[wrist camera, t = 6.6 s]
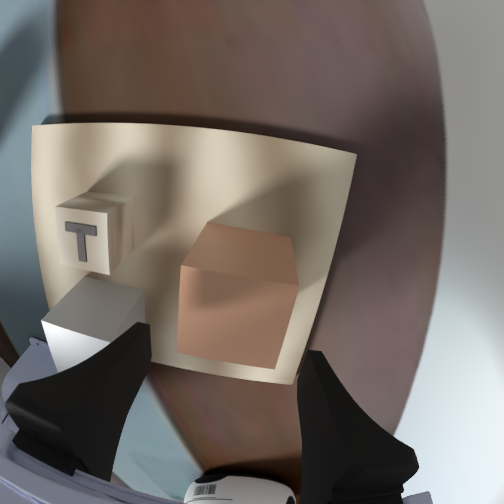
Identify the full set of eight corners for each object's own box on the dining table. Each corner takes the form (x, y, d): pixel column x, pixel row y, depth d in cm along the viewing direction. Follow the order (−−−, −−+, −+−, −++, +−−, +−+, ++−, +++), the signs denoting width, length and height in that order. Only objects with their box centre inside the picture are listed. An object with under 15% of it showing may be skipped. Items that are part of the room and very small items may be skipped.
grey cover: (92, 329, 24) (59, 376, 19) (84, 276, 22) (41, 320, 16) (147, 343, 25) (121, 397, 19) (144, 289, 22) (109, 342, 16)
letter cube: (88, 241, 21) (60, 264, 17) (87, 191, 19) (54, 206, 16) (133, 249, 21) (109, 275, 17) (134, 196, 19) (106, 213, 16)
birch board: (59, 327, 26) (55, 332, 25) (40, 124, 18) (32, 125, 17) (291, 377, 26) (292, 384, 26) (352, 153, 19) (356, 154, 18)
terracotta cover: (199, 294, 22) (177, 352, 16) (206, 222, 20) (180, 265, 14) (274, 307, 22) (274, 369, 16) (290, 236, 20) (299, 285, 14)
